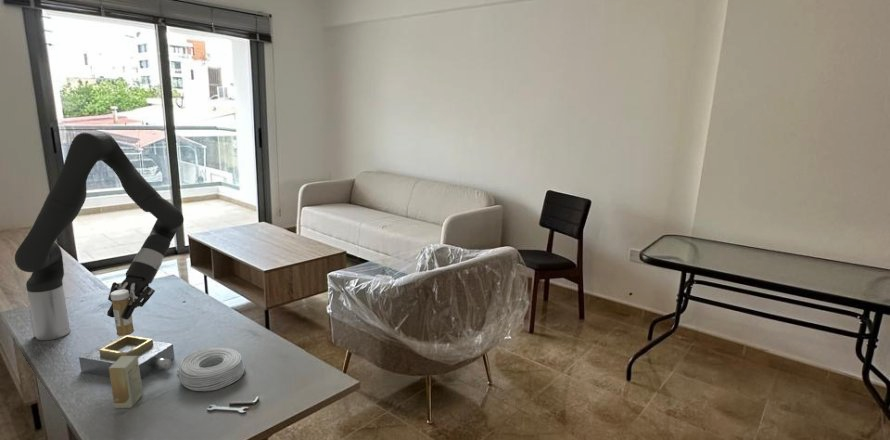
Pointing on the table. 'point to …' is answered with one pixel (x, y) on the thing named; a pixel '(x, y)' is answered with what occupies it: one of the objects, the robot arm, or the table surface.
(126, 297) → the sprinkles bottle
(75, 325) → the table surface
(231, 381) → the cable
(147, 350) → the grey block with recess
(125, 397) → the skincare box
